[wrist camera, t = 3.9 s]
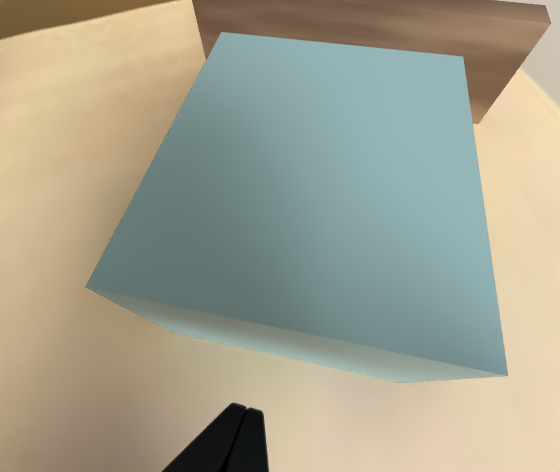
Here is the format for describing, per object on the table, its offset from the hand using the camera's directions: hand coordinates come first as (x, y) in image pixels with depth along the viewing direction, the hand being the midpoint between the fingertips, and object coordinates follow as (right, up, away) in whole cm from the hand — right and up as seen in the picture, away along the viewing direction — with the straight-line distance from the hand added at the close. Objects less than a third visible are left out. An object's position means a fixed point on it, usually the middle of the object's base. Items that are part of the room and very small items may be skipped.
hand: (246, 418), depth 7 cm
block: (+2, +4, +11) cm, 12 cm away
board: (+6, +17, +17) cm, 24 cm away
